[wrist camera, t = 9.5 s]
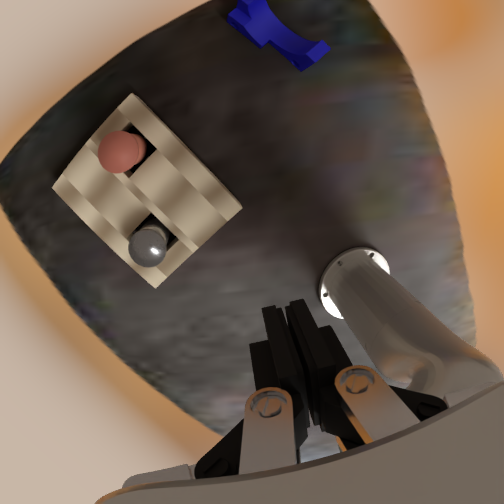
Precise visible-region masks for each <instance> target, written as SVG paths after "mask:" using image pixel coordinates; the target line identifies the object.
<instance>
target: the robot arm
mask: <svg viewBox="0 0 504 504" xmlns="http://www.w3.org/2000/svg"><path fill="white" fill-rule="evenodd" d="M319 297H320V300H321V303H322V305H323V306H324V308H325V309H326V310H327V311H328V313H330V314H331V315H333V316H335V317H337V318H342V319H344V320H345V321H346V323H347V324H348V326H349V327H350V329H351V330H352V332H353V333H354V335H355V336H356V338H357V339H358V341H359V342H360V344H361V345H362V347H363V348H364V350H365V351H366V353H367V354H368V356H369V357H370V359H371V360H372V362H373V363H374V365H375V366H376V368H377V369H378V370H379V372H380V373H381V374H383V375H384V376H385V377H387V378H389V379H391V380H394V381H398V382H404V383H410V385H409V386H408V387H407V388H406V389H402V388H398V387H394V386H390V385H388V384H387V383H386V382H385V381H384V380H383V379H382V378H381V376H380V375H379V374H378V373H377V372H376V371H375V370H373V369H372V368H370V367H368V366H363V365H354V366H353V365H352V363H351V361H350V359H349V357H348V356H347V354H346V352H345V350H344V348H343V347H342V345H341V343H340V341H339V339H338V338H337V336H336V334H335V332H334V330H333V329H332V327H331V326H330V325H328V326H324V327H320V328H318V327H317V325H316V323H315V321H314V319H313V317H312V315H311V313H310V311H309V309H308V307H307V305H306V303H305V301H304V299H300V300H295V301H291V302H290V306H285V310H286V316H287V322H288V325H287V322H286V319H285V317H284V314H283V311H282V308H277V309H276V306H275V305H273V306H269V307H264V308H262V313H263V318H264V323H265V327H266V332H267V337H268V340H265V341H261V342H256V343H251V344H249V346H250V353H251V360H252V366H253V373H254V380H255V386H256V392H254V393H253V394H252V395H250V397H249V398H248V399H247V401H246V405H245V413H244V418H243V419H242V420H241V421H240V422H239V423H238V424H237V425H236V426H235V427H234V428H233V429H232V430H231V431H230V432H229V433H228V434H227V435H226V436H225V437H224V438H223V439H222V440H221V441H219V442H218V443H217V444H216V445H215V446H214V447H213V448H212V449H211V450H210V451H209V452H207V453H206V454H205V455H204V456H203V457H202V458H201V459H200V460H199V461H198V462H197V464H195V465H191V466H188V465H187V464H184V465H180V466H176V467H172V468H168V469H163V470H158V471H154V472H148V473H143V474H138V475H134V476H132V477H130V478H128V479H127V480H126V481H125V483H124V484H123V487H122V489H119V490H116V491H113V492H111V493H109V494H107V495H105V496H103V497H102V498H100V499H99V500H97V502H96V503H95V504H504V378H503V375H502V373H501V371H500V369H499V368H498V367H497V366H496V364H495V363H494V362H493V361H492V360H491V359H490V358H488V357H487V356H486V355H485V354H483V353H482V352H480V351H479V350H477V349H476V348H474V347H473V346H471V345H470V344H469V343H467V342H466V341H464V340H463V339H461V338H460V337H459V336H457V335H456V334H455V333H453V332H452V331H451V330H450V329H449V328H448V327H447V326H445V325H444V324H443V323H442V322H441V321H440V320H439V319H438V318H437V317H435V316H434V315H433V314H432V313H431V312H430V311H429V310H428V309H427V308H426V307H425V306H424V305H423V304H422V303H421V302H419V301H418V300H417V299H416V298H415V297H414V296H413V295H412V294H411V293H410V292H409V291H407V290H406V289H405V288H404V287H403V286H402V285H401V284H400V283H398V282H397V281H396V280H395V279H394V278H393V277H392V276H391V275H390V270H389V265H388V263H387V261H386V259H385V258H384V257H383V256H382V255H381V254H380V253H379V252H377V251H375V250H374V249H371V248H368V247H356V248H352V249H349V250H346V251H344V252H343V253H341V254H339V255H338V256H337V257H336V258H334V259H333V260H332V261H331V262H330V263H329V265H328V266H327V267H326V269H325V271H324V272H323V275H322V277H321V280H320V284H319ZM308 408H309V411H310V414H311V417H312V420H313V424H314V426H316V425H320V428H321V431H322V432H324V431H326V432H327V433H330V434H333V435H335V439H336V441H337V443H338V445H339V446H340V448H341V450H342V451H343V452H341V453H337V454H334V455H331V456H327V457H323V458H320V459H316V460H312V461H308V462H304V463H301V456H300V446H301V445H302V444H303V442H304V441H305V440H306V438H307V437H308V434H307V428H308V427H310V421H309V411H308Z"/></svg>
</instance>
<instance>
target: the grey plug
mask: <svg viewBox="0 0 504 504" xmlns="http://www.w3.org/2000/svg"><path fill="white" fill-rule="evenodd" d="M169 237H170V230H169V229H168V228H167V227H166V226H165V225H164V224H163V223H162V222H161V221H160V220H159V219H157V218H153V219H150V220H148V221H146V222H145V223H144V225H143V226H142V228H141V229H140V230H139V231H137V232H136V233H135V234H134V235H133V236H132V237H131V239H130V241H129V244H128V251H129V254H130V257H131V258H132V260H133V261H134V262H135V263H136V264H138V265H140V266H142V267H148V268H149V267H155V266H157V265H159V264H160V263H161V262H162V261H163V259H164V257H165V255H166V251H167V246H166V245H167V242H168V240H169Z"/></svg>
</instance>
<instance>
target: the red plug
mask: <svg viewBox="0 0 504 504" xmlns="http://www.w3.org/2000/svg"><path fill="white" fill-rule="evenodd" d="M146 153H147V144H146V141H145V140H144V138H143V137H142V136H140V135H138V134H130V133H128V132H125V131H114V132H111V133H109V134H107V135H106V136H105V137H104V138H103V139H102V141H101V142H100V145H99V148H98V159H99V162H100V164H101V166H102V167H103V168H104V169H105V170H107V171H108V172H111V173H123V172H125V171H127V170H129V169H130V168H131V167H133V165H135V164H138V163H140V162H141V161H142V160H143V159H144V157H145V156H146Z"/></svg>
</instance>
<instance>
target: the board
mask: <svg viewBox="0 0 504 504" xmlns="http://www.w3.org/2000/svg"><path fill="white" fill-rule="evenodd" d="M133 125H134V126H135V127H136V128H137V129H138V130H139V131H140V132H141V133H142V134H143V135H144V136H145V137H146V138H147V139H148V140H149V141H150V142H151V143H152V144H153V145H154V146H155V147H156V148H157V150H156V151H155V152H154V153H153V154H152V155H151V156H150V157H149V158H148V159H147V160H146V161H145V162H144V163H143V164H142V165H141V166H140V167H139V168H138V169H137V170H136V171H135V172H134V173H132V172H131V171H130V170H127V171H125V172H123V173H111V172H108V171H107V170H105V169H104V168H103V167H102V166H101V164H100V162H99V159H98V148H99V145H100V142H101V141H102V139H103V138H104V137H105V136H106V135H107V134H109V133H111V132H114V131H125V132H127V131H128V130H129V129H130V128H131V127H132V126H133ZM52 188H53V189H54V190H55V192H56V193H57V194H58V195H59V196H60V197H61V198H62V199H63V200H64V201H65V202H66V203H67V204H68V205H69V207H70V208H71V209H72V210H73V211H74V212H75V213H76V214H77V215H78V216H79V217H80V218H81V219H82V220H83V221H84V222H85V223H86V224H87V225H88V226H89V227H90V228H91V229H92V230H93V231H94V232H95V233H96V234H97V235H98V236H99V237H100V238H101V239H102V240H103V241H104V242H105V243H106V244H107V245H108V246H109V247H110V248H111V249H113V250H114V251H115V252H116V253H117V254H118V255H119V256H120V257H121V258H122V259H123V260H124V261H125V262H126V263H127V264H129V265H130V266H131V267H132V268H133V269H134V270H135V271H136V272H137V273H138V274H140V275H141V276H142V277H143V278H144V279H145V280H146V281H147V282H149V283H150V284H151V285H152V286H153V287H154V288H156V287H157V286H159V285H160V284H161V283H162V282H163V281H164V280H165V279H166V278H167V277H168V276H169V275H170V274H171V273H172V272H173V271H174V270H175V269H176V268H178V267H179V266H180V265H181V264H182V263H183V262H184V261H185V260H186V259H187V258H188V257H189V256H190V255H191V254H192V253H194V252H195V251H196V250H197V249H198V248H199V247H200V246H201V245H202V244H203V243H204V242H205V241H207V240H208V239H209V238H210V237H211V236H212V235H213V234H214V233H215V232H216V231H218V230H219V229H220V228H221V227H222V226H223V225H224V224H225V223H226V222H227V221H229V220H230V219H231V218H232V217H233V216H234V215H235V214H236V213H238V212H239V211H240V210H241V209H242V206H241V203H240V202H239V201H238V200H237V199H236V198H235V197H234V196H233V195H232V193H231V192H230V191H229V190H228V189H227V188H226V187H225V186H224V185H223V184H222V183H221V182H220V181H219V180H218V179H217V178H216V176H215V175H214V174H213V173H212V172H211V171H210V170H209V169H208V168H207V167H206V166H205V165H204V164H203V163H202V162H201V161H200V160H199V159H198V158H197V157H196V156H195V154H194V153H193V152H192V151H191V150H190V149H189V148H188V147H187V146H186V145H185V144H184V143H183V142H182V141H181V140H180V139H179V138H178V137H177V136H176V135H175V134H174V133H173V132H172V131H171V130H170V129H169V128H168V127H167V126H166V125H165V124H164V122H163V121H162V120H161V119H160V118H159V117H158V116H157V115H156V114H155V113H154V112H153V111H152V110H151V109H150V108H149V107H148V106H147V105H146V104H145V103H144V102H143V101H142V100H141V99H140V98H139V97H138V96H136V95H134V94H132V93H131V94H130V95H129V96H128V97H127V98H126V99H125V100H124V101H123V102H122V103H121V104H120V105H119V107H118V108H117V109H116V110H115V111H114V112H113V113H112V114H111V115H110V116H109V117H108V118H107V119H106V120H105V122H104V123H103V124H102V125H101V126H100V127H99V128H98V129H97V131H96V132H95V133H94V134H93V135H92V136H91V138H90V139H89V140H88V141H87V142H86V144H85V145H84V146H83V147H82V149H81V150H80V151H79V152H78V154H77V155H76V156H75V157H74V159H73V160H72V161H71V162H70V164H69V165H68V166H67V168H66V169H65V170H64V172H63V173H62V174H61V176H60V177H59V179H58V180H57V181H56V183H55V184H54V186H53V187H52ZM151 212H152V213H153V214H154V215H155V216H156V217H157V218H158V219H159V220H160V221H161V222H162V223H163V224H164V225H165V226H166V227H167V228H168V229H169V230H170V231H171V232H172V233H173V234H174V235H175V236H176V238H175V239H174V240H173V241H172V242H171V243H170V244H169V245H168V246H167V251H166V255H165V257H164V259H163V261H162V262H161V263H160V264H159V265H157V266H155V267H149V268H148V267H142V266H140V265H138V264H136V263H135V262H134V261H133V260H132V258H131V257H130V254H129V251H128V244H129V241H130V239H131V237H132V236H133V235H134V234H133V233H132V232H133V231H134V230H135V229H136V228H137V227H138V226H139V224H140V223H141V222H142V221H143V220H144V219H145V218H146V217H147V216H148V215H149V214H150V213H151Z"/></svg>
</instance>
